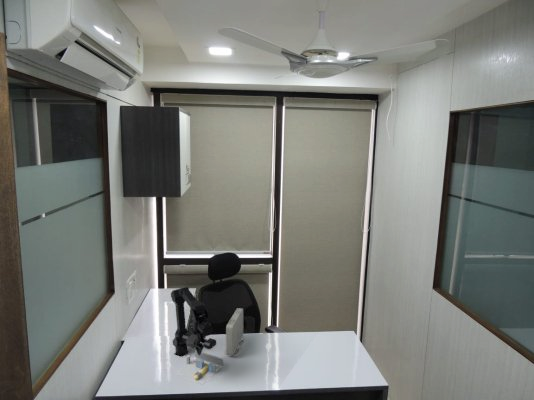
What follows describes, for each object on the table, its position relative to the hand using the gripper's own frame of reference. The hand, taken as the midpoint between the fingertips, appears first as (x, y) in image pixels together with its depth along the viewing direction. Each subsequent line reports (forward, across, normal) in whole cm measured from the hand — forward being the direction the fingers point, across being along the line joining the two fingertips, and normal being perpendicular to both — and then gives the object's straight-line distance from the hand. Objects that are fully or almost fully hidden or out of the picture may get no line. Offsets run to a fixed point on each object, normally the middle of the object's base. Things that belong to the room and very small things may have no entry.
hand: (199, 354), depth 185 cm
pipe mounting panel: (+11, -2, +2) cm, 11 cm away
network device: (+11, +3, +30) cm, 33 cm away
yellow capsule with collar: (+10, +2, -1) cm, 10 cm away
